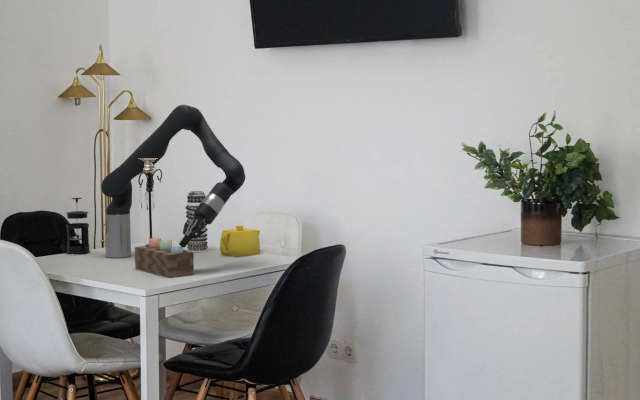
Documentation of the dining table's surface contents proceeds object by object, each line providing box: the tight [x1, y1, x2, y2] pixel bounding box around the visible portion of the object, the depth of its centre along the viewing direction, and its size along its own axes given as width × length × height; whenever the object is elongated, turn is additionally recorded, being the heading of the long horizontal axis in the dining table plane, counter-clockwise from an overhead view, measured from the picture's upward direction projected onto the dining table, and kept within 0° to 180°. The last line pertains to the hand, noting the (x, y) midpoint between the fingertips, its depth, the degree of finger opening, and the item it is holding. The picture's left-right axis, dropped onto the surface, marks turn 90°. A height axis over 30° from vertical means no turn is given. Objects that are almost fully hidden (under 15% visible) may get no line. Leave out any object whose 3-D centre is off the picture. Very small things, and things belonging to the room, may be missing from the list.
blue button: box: [171, 246, 184, 253], centre depth 302 cm, size 4×4×6 cm
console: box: [134, 245, 195, 279], centre depth 308 cm, size 25×10×8 cm, turn 39°
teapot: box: [219, 224, 261, 258], centre depth 348 cm, size 20×12×12 cm, turn 137°
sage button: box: [160, 239, 173, 251], centre depth 308 cm, size 4×4×6 cm
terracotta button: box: [148, 237, 162, 248], centre depth 314 cm, size 4×4×6 cm
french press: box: [65, 197, 91, 255], centre depth 352 cm, size 12×9×23 cm
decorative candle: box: [185, 190, 209, 253], centre depth 355 cm, size 9×9×25 cm
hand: (181, 245), depth 303 cm, fingers closed
